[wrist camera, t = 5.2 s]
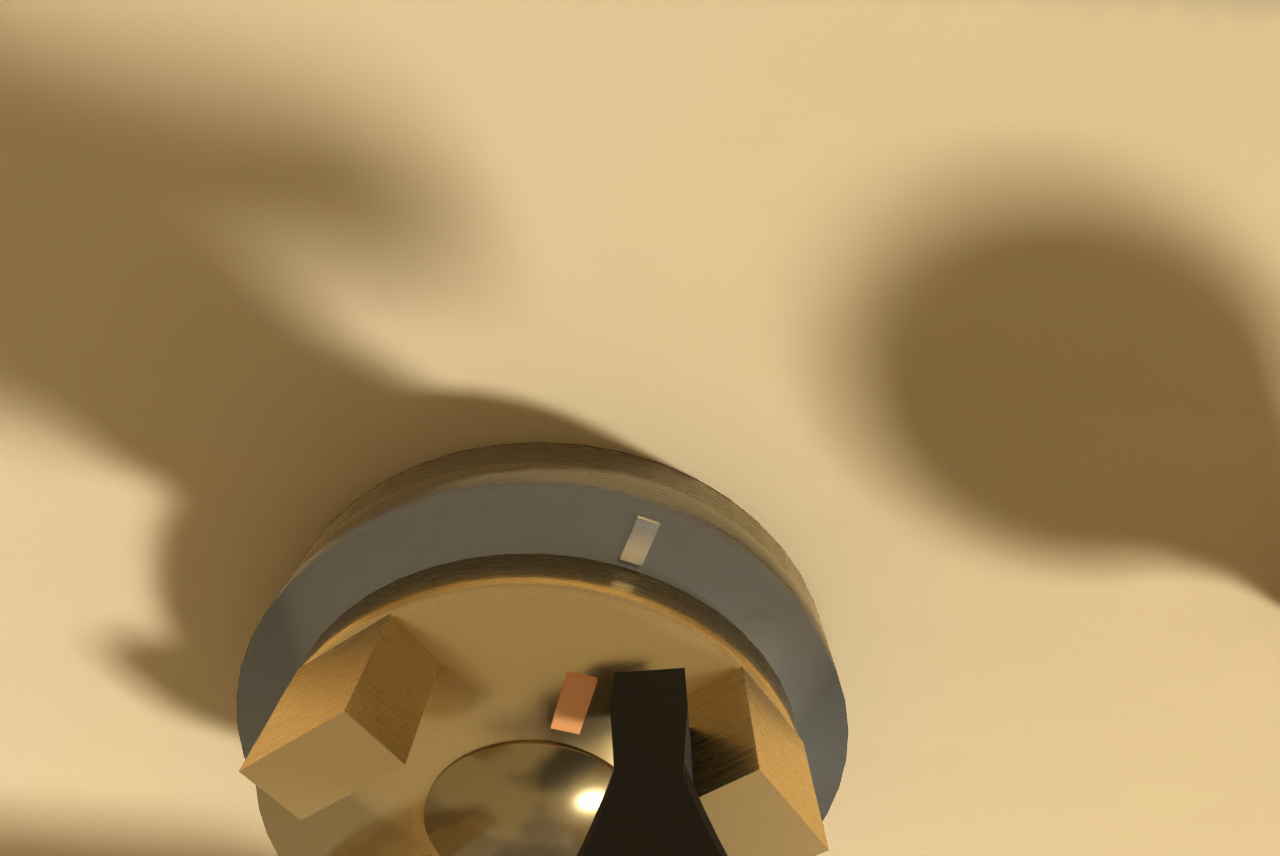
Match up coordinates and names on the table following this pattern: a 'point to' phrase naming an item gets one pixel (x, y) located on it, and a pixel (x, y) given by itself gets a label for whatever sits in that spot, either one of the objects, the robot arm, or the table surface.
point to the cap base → (568, 526)
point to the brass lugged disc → (518, 717)
